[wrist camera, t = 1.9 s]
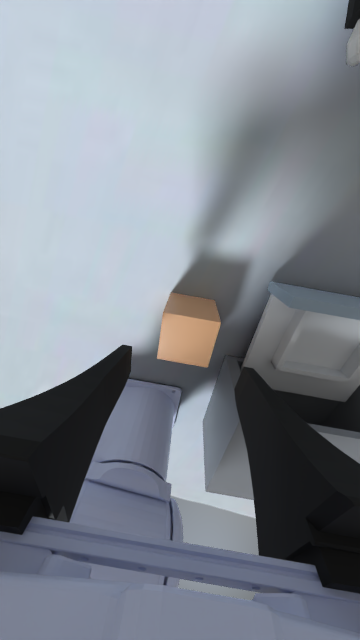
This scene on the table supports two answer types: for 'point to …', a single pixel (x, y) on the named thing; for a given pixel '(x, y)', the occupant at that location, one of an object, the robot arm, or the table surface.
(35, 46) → the table surface
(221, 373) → the gray drawer box
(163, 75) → the table surface
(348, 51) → the robot toy
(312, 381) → the blue-grey sliding drawer
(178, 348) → the block
